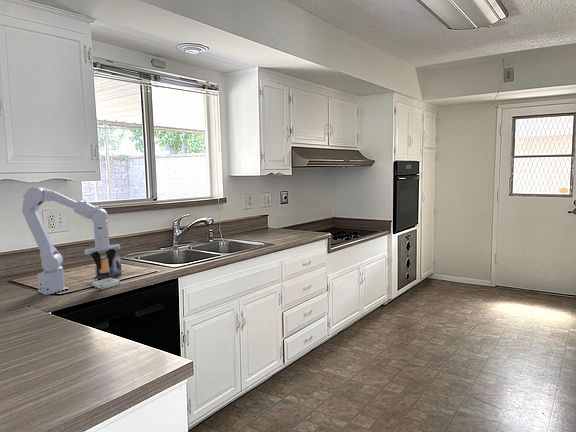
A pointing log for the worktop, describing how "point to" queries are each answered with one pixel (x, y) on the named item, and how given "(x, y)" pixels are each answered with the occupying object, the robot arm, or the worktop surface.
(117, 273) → the small box
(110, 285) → the tray
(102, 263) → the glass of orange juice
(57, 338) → the worktop surface
